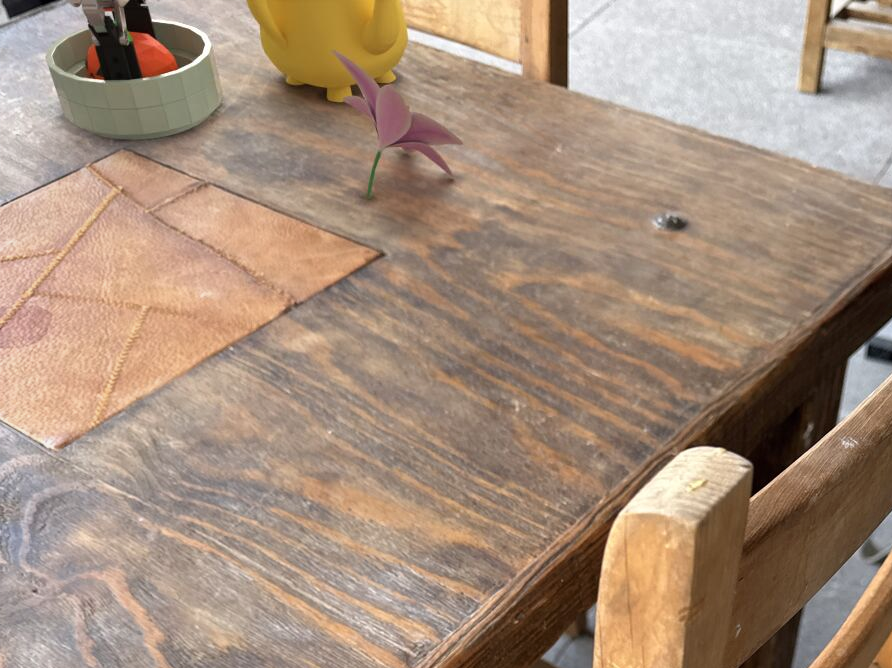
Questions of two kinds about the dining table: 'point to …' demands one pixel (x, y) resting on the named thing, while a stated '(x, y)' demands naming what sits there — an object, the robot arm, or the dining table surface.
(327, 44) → the yellow rounded piece
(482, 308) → the dining table surface
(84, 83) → the bowl
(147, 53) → the pumpkin
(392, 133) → the lily
